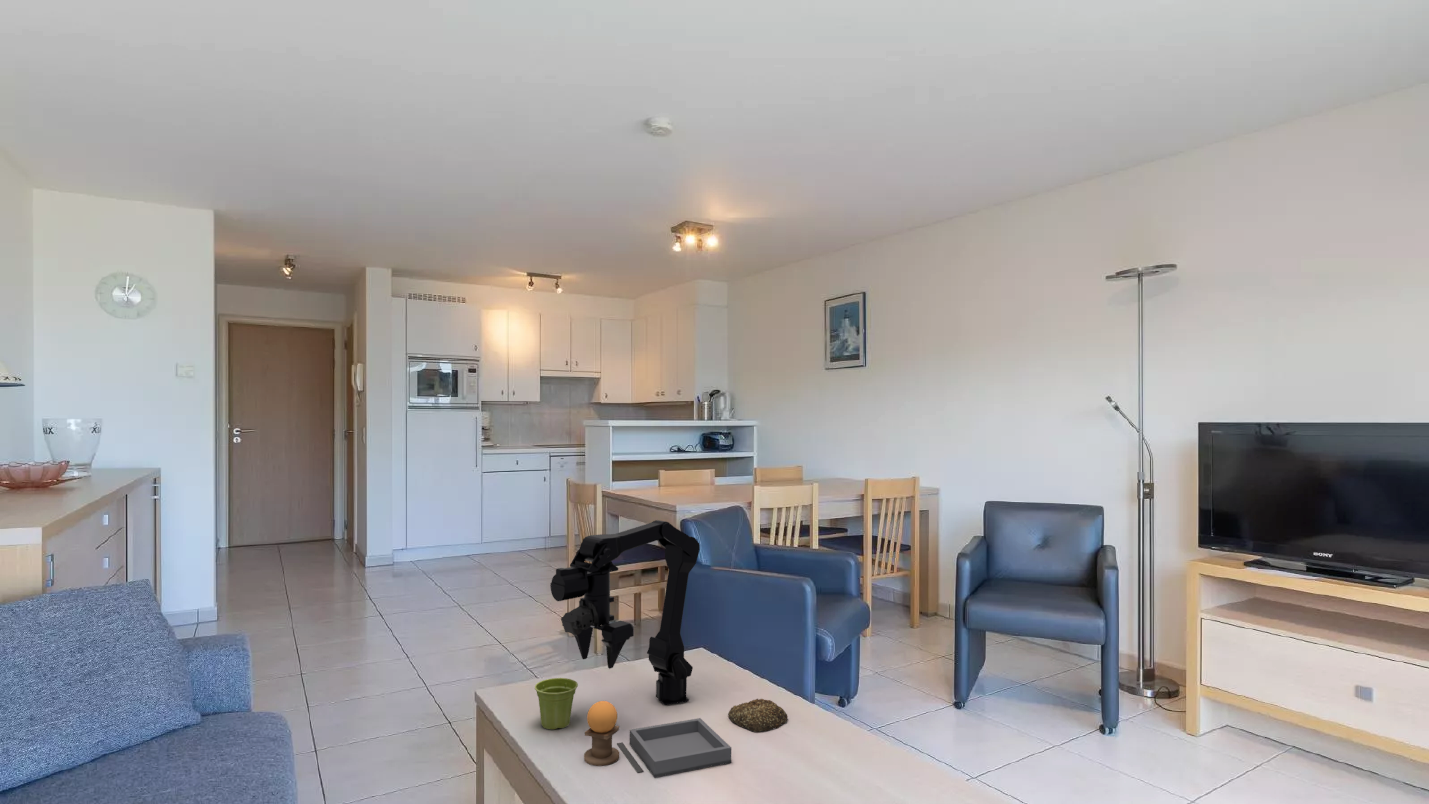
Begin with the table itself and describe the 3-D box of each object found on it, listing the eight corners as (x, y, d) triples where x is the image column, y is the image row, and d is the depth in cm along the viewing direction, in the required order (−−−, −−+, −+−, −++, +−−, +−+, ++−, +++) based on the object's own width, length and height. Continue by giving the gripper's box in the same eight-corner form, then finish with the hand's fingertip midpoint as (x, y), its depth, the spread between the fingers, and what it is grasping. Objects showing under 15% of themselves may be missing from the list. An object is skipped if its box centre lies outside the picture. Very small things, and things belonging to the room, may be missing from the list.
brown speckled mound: (752, 737, 162) (752, 713, 162) (720, 717, 172) (721, 695, 173) (798, 724, 169) (798, 702, 169) (765, 706, 179) (765, 685, 179)
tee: (595, 748, 155) (595, 720, 155) (625, 753, 153) (625, 725, 153) (577, 762, 149) (577, 733, 149) (608, 768, 146) (608, 738, 146)
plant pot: (585, 719, 170) (585, 680, 170) (563, 736, 161) (564, 695, 161) (548, 713, 173) (549, 675, 173) (525, 729, 164) (526, 689, 164)
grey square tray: (700, 732, 164) (700, 718, 164) (731, 762, 149) (731, 747, 149) (629, 744, 157) (629, 729, 157) (654, 777, 143) (654, 761, 143)
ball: (612, 724, 155) (612, 694, 155) (620, 735, 149) (621, 705, 150) (583, 728, 152) (584, 699, 153) (591, 740, 147) (591, 709, 147)
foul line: (622, 743, 158) (622, 742, 158) (643, 772, 145) (643, 771, 145) (616, 744, 157) (616, 743, 157) (637, 773, 144) (637, 772, 144)
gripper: (542, 593, 168) (542, 663, 168) (594, 607, 156) (594, 683, 156) (582, 584, 177) (582, 651, 176) (635, 597, 164) (635, 669, 164)
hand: (597, 663), depth 168 cm, fingers open, 9 cm apart
